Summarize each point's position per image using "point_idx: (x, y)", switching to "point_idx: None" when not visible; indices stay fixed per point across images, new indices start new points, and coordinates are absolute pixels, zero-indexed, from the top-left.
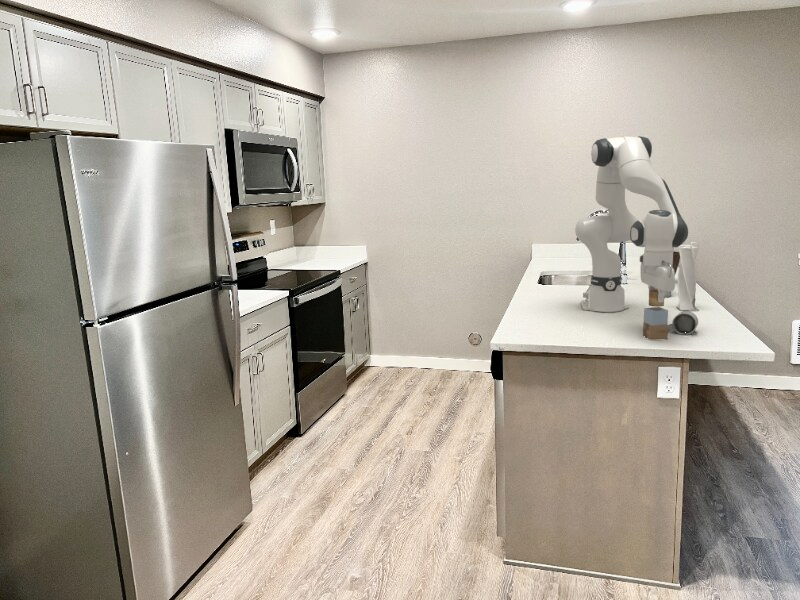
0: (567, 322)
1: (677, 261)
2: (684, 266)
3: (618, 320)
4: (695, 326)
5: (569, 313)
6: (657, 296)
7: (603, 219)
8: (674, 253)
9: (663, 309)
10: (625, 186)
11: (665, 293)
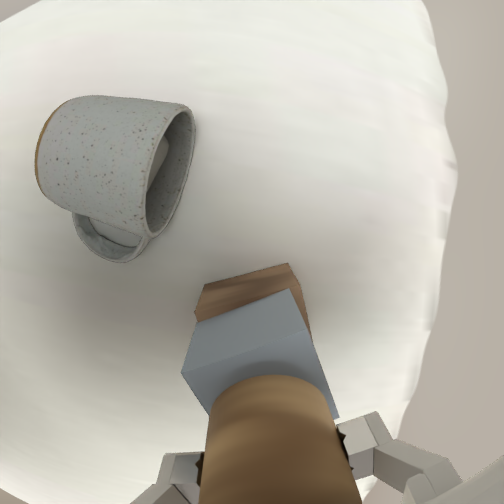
0: (112, 492)
1: None
2: None
3: (26, 384)
4: (192, 115)
5: (23, 459)
6: (356, 478)
7: None
8: None
9: (278, 358)
10: None
11: (433, 454)
